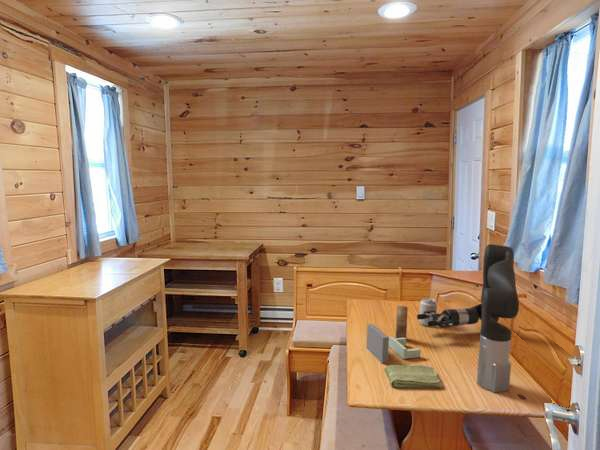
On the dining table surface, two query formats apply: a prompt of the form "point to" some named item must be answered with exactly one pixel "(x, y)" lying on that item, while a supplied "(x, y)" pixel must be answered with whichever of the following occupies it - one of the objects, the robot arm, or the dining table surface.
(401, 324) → the dowel
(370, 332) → the wall
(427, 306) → the can
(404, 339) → the bracket
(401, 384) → the washcloth
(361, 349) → the dining table surface
